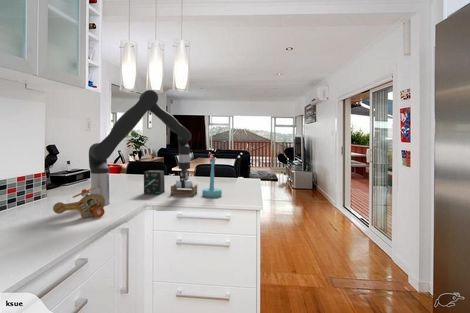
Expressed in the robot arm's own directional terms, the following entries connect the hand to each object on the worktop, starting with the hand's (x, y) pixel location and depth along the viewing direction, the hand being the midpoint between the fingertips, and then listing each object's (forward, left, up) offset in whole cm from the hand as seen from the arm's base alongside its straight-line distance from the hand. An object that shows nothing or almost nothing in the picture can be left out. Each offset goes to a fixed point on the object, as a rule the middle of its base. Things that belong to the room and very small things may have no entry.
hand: (184, 187), depth 187 cm
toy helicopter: (-60, +31, -5) cm, 68 cm away
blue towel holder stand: (-1, -18, -5) cm, 19 cm away
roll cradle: (0, 0, -5) cm, 5 cm away
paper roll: (0, 0, +2) cm, 2 cm away
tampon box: (+1, +21, -5) cm, 21 cm away
